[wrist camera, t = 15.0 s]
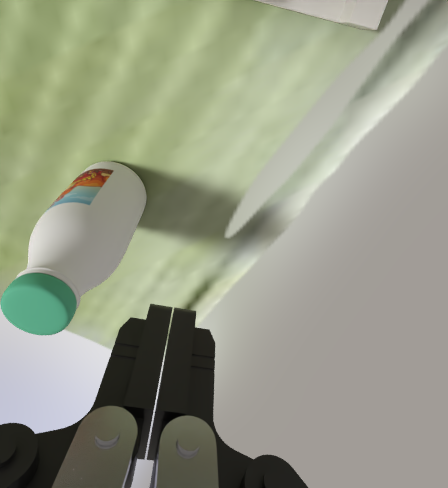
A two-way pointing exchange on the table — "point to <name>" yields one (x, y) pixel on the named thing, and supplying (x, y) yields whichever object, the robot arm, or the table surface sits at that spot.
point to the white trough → (338, 10)
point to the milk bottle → (75, 247)
